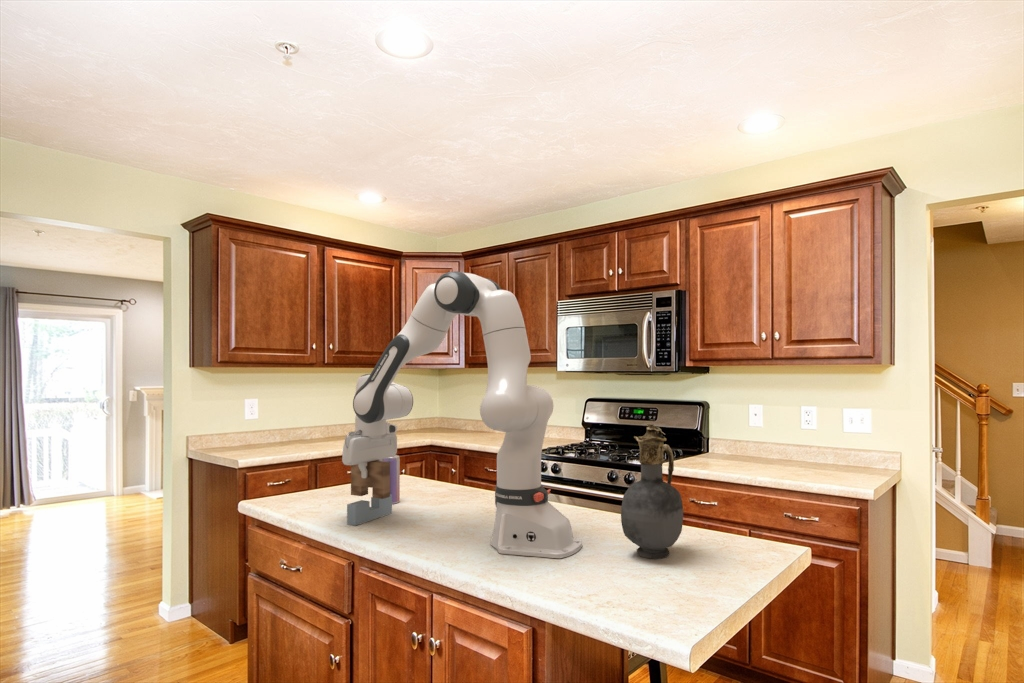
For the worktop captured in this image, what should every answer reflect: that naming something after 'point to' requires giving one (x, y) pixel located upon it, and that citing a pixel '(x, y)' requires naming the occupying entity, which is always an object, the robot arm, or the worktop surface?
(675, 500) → the pitcher
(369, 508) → the notched grey block
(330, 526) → the worktop surface
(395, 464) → the beverage can
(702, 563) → the worktop surface
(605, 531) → the worktop surface
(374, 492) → the wooden bridge block
